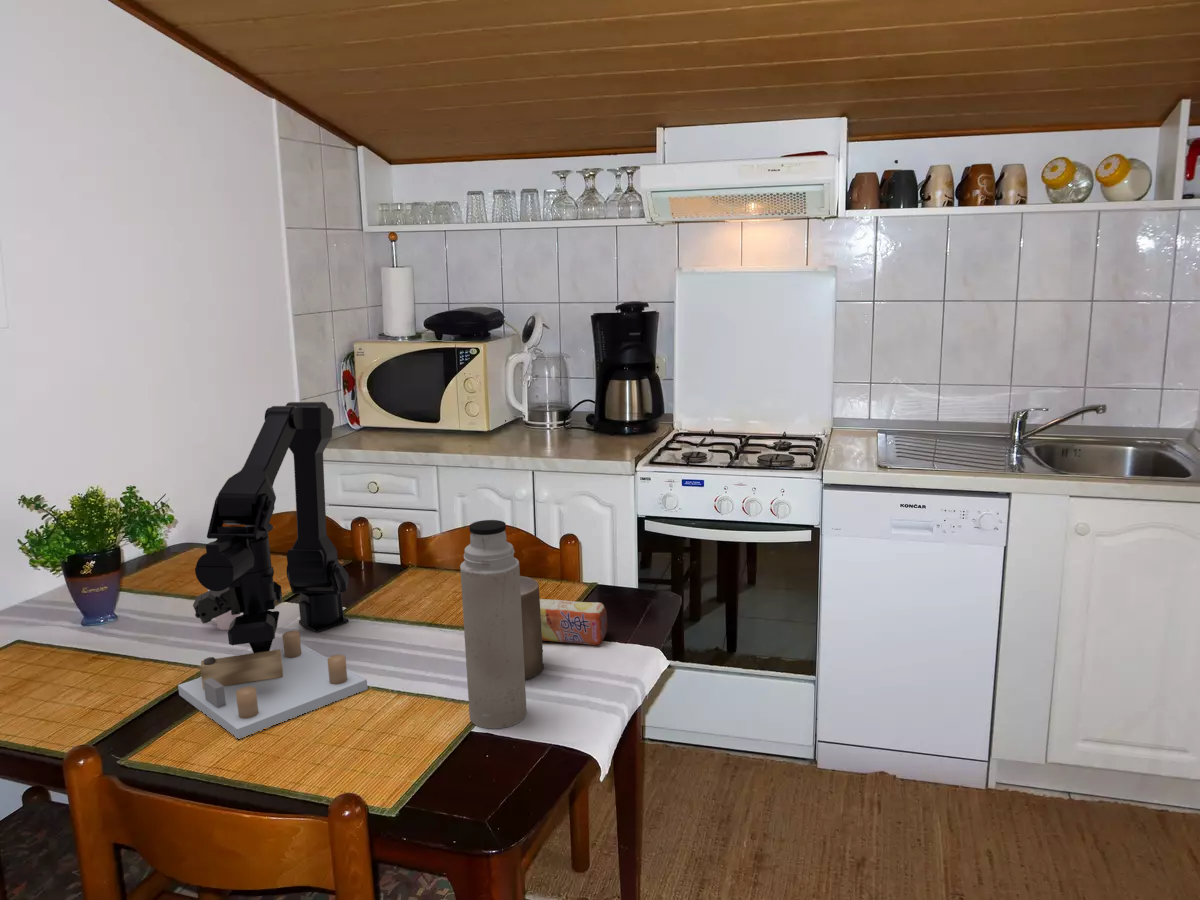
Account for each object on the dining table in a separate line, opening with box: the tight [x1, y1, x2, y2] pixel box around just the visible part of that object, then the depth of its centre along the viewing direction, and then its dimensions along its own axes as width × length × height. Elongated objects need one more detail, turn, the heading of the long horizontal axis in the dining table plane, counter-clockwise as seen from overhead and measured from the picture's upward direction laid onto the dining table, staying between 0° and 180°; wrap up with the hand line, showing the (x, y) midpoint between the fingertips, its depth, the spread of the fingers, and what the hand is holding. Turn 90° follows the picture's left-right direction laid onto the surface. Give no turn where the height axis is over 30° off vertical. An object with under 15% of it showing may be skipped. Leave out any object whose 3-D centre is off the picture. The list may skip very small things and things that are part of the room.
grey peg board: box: [177, 630, 368, 740], centre depth 140 cm, size 20×20×5 cm
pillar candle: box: [520, 575, 545, 680], centre depth 145 cm, size 10×10×15 cm
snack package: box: [540, 598, 608, 646], centre depth 158 cm, size 21×7×7 cm, turn 77°
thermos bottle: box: [459, 519, 527, 730], centre depth 129 cm, size 8×8×28 cm
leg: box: [199, 648, 283, 689], centre depth 141 cm, size 11×2×4 cm, turn 108°
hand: (262, 663), depth 145 cm, fingers closed
